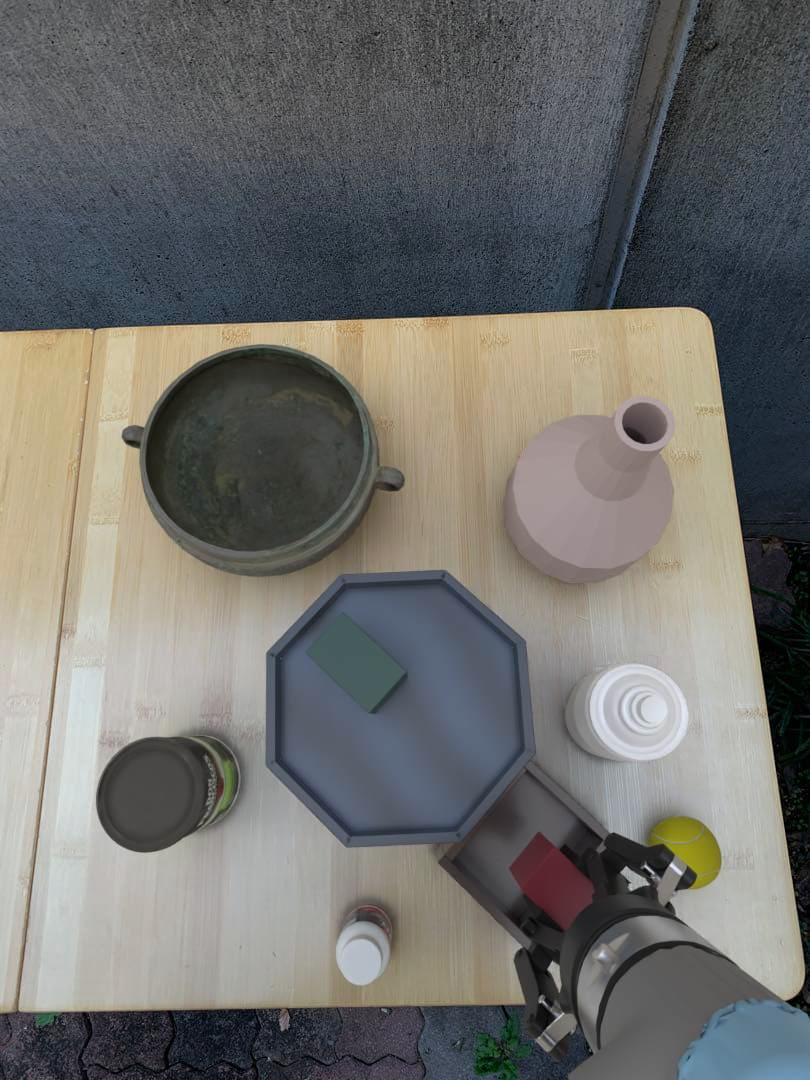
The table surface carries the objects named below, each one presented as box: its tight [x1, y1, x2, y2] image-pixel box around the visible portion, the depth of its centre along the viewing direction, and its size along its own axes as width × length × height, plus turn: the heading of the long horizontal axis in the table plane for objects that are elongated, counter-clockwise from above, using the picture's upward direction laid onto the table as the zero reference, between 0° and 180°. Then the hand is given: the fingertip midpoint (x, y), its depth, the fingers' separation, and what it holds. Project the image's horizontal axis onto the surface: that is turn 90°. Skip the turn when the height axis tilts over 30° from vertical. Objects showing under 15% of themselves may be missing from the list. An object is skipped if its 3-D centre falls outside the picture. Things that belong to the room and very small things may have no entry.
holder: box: [435, 759, 612, 950], centre depth 72 cm, size 14×12×7 cm
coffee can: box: [95, 734, 242, 854], centre depth 71 cm, size 10×10×14 cm
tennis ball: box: [648, 815, 723, 891], centre depth 72 cm, size 7×7×7 cm
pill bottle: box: [335, 904, 393, 986], centre depth 69 cm, size 5×5×10 cm
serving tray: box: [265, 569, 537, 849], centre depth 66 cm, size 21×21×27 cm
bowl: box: [121, 343, 406, 578], centre depth 79 cm, size 32×26×15 cm
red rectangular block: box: [509, 832, 594, 932], centre depth 54 cm, size 4×6×7 cm, turn 48°
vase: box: [502, 395, 676, 584], centre depth 70 cm, size 18×18×30 cm
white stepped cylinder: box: [564, 661, 689, 763], centre depth 67 cm, size 12×11×25 cm
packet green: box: [305, 613, 408, 714], centre depth 52 cm, size 4×6×7 cm, turn 48°
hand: (556, 881), depth 56 cm, fingers closed on red rectangular block, 4 cm apart
